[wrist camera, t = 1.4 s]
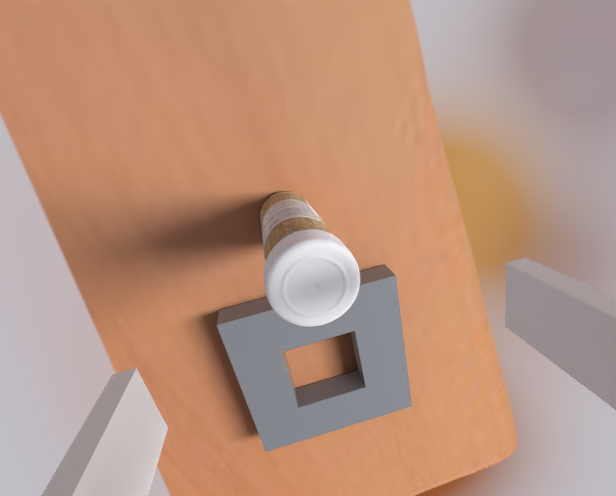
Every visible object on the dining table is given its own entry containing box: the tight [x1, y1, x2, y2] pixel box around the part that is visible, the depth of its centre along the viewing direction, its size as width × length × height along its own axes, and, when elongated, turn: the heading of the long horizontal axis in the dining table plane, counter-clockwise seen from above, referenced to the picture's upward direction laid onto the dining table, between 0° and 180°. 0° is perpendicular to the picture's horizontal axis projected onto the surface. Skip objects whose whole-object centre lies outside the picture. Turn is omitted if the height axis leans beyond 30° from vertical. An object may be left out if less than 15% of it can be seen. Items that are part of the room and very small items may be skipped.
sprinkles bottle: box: [260, 191, 360, 327], centre depth 21 cm, size 5×5×13 cm
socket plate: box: [217, 264, 412, 452], centre depth 31 cm, size 16×16×2 cm
